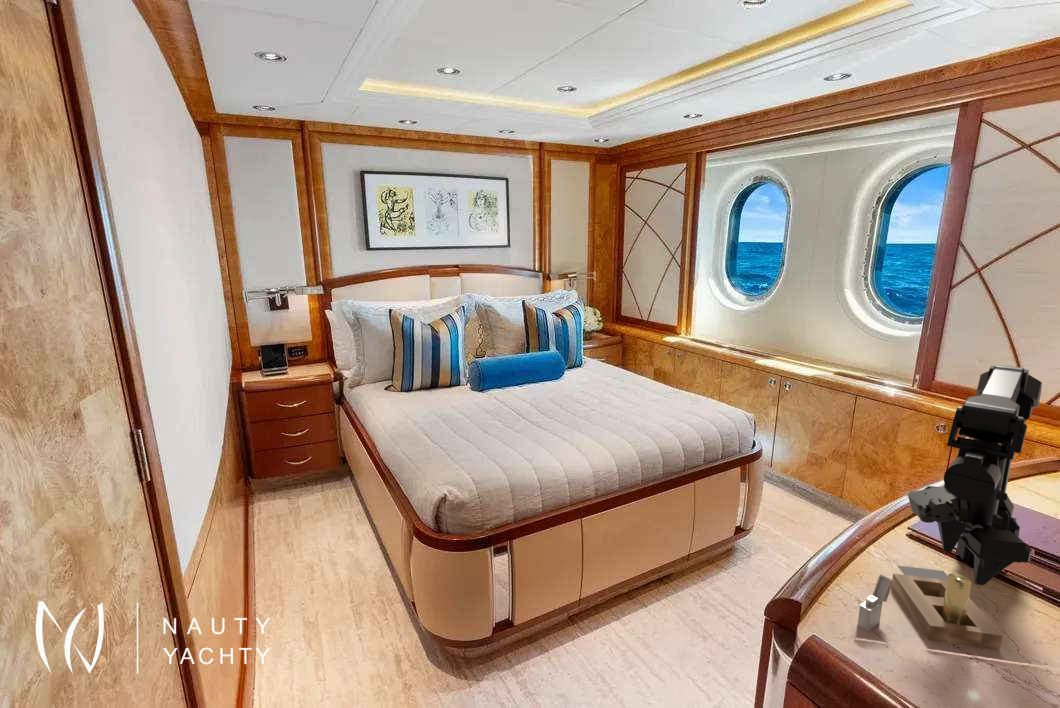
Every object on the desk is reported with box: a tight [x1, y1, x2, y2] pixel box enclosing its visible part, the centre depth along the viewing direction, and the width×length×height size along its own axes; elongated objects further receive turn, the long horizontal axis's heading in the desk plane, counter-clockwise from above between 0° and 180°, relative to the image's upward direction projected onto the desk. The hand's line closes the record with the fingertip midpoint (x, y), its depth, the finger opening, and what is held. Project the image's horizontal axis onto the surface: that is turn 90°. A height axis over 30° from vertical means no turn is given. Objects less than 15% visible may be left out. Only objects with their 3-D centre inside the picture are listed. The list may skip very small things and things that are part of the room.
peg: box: [941, 572, 973, 625], centre depth 85 cm, size 3×3×10 cm
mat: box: [897, 565, 948, 580], centre depth 99 cm, size 8×7×1 cm
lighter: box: [857, 574, 893, 632], centre depth 87 cm, size 7×2×8 cm, turn 121°
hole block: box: [891, 573, 1003, 651], centre depth 89 cm, size 10×14×3 cm
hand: (962, 567), depth 83 cm, fingers open, 9 cm apart
